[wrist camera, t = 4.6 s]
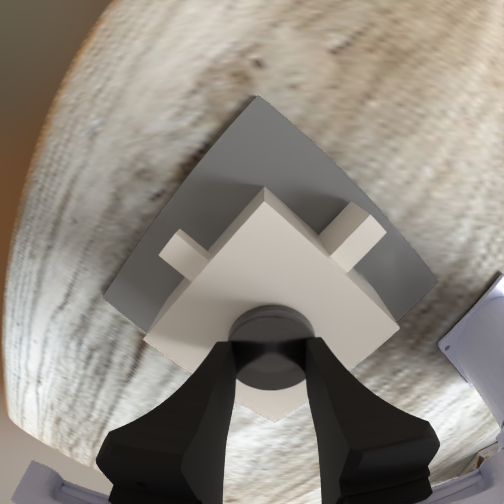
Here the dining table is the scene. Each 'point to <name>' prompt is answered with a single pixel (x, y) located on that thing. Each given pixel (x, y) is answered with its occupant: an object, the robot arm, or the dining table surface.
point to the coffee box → (480, 458)
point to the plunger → (270, 347)
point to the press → (269, 254)
